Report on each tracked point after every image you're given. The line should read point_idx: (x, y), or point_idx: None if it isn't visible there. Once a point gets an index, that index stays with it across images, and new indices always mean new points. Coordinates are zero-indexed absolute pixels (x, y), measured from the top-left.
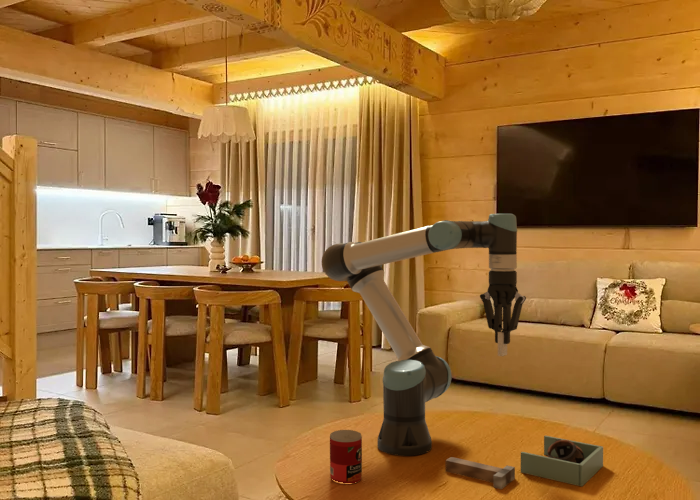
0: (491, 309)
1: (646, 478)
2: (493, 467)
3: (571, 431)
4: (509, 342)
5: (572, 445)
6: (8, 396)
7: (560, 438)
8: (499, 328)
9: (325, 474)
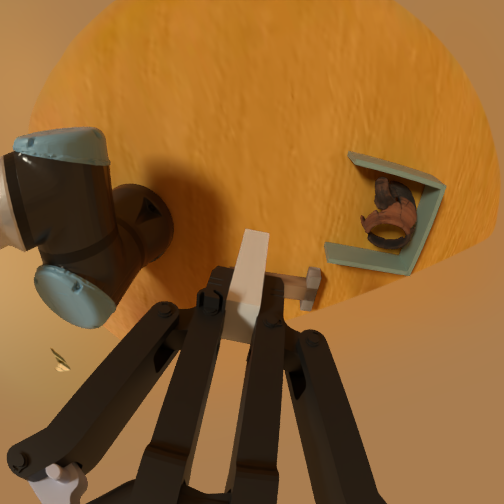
0: (116, 410)
1: (472, 203)
2: (294, 289)
3: (366, 6)
4: (282, 283)
5: (406, 234)
6: None
7: (384, 166)
8: (219, 339)
9: (133, 323)
